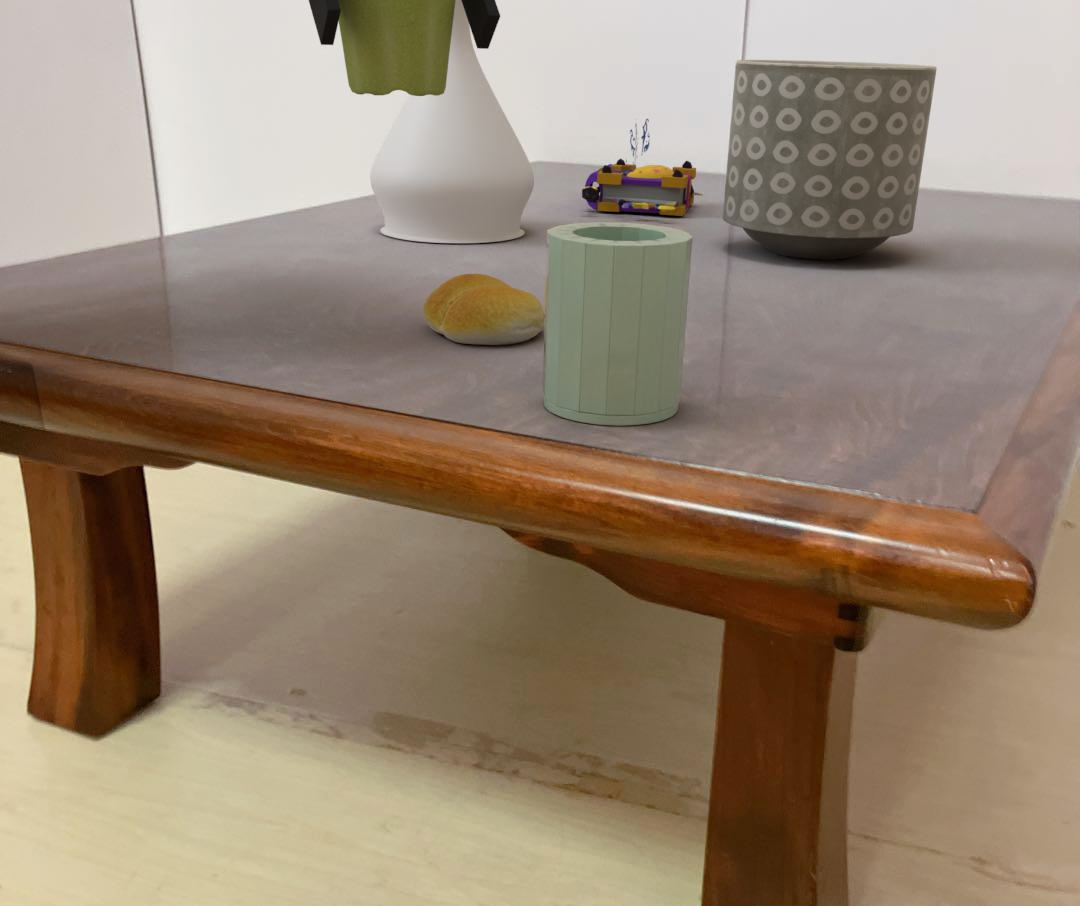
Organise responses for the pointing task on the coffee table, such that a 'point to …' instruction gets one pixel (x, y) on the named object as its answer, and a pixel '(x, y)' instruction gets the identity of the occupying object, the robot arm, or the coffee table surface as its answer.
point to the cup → (615, 321)
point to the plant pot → (396, 45)
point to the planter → (826, 154)
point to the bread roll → (483, 311)
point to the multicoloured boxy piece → (641, 187)
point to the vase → (453, 160)
